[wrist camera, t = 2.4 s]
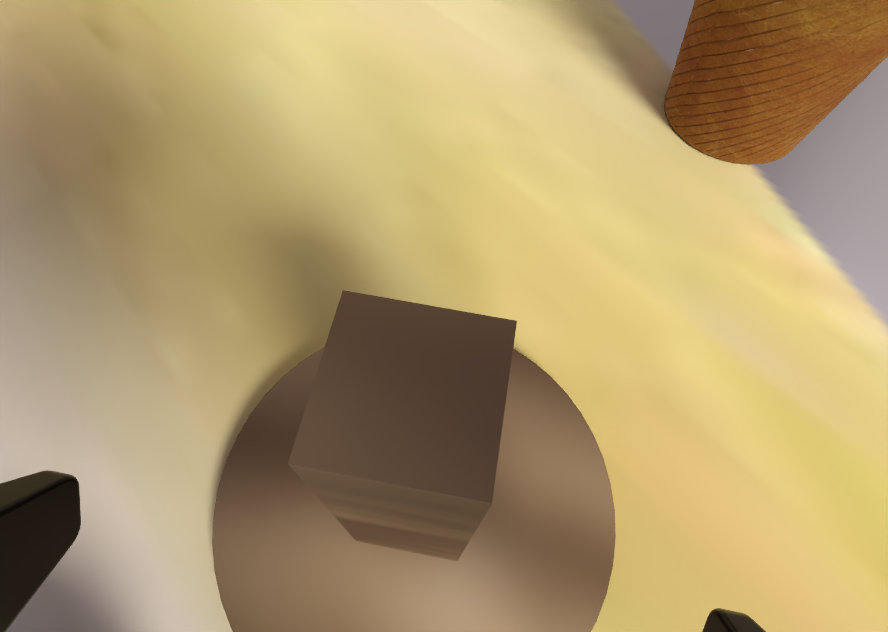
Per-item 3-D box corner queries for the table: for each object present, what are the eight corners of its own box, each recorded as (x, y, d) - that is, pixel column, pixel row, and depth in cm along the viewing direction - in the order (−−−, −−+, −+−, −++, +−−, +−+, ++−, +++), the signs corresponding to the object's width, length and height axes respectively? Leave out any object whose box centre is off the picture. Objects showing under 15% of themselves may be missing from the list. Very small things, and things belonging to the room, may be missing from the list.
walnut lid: (598, 786, 14) (880, 1057, 5) (154, 687, 15) (-232, 787, 6) (613, 365, 20) (763, 166, 11) (292, 308, 21) (195, 79, 12)
